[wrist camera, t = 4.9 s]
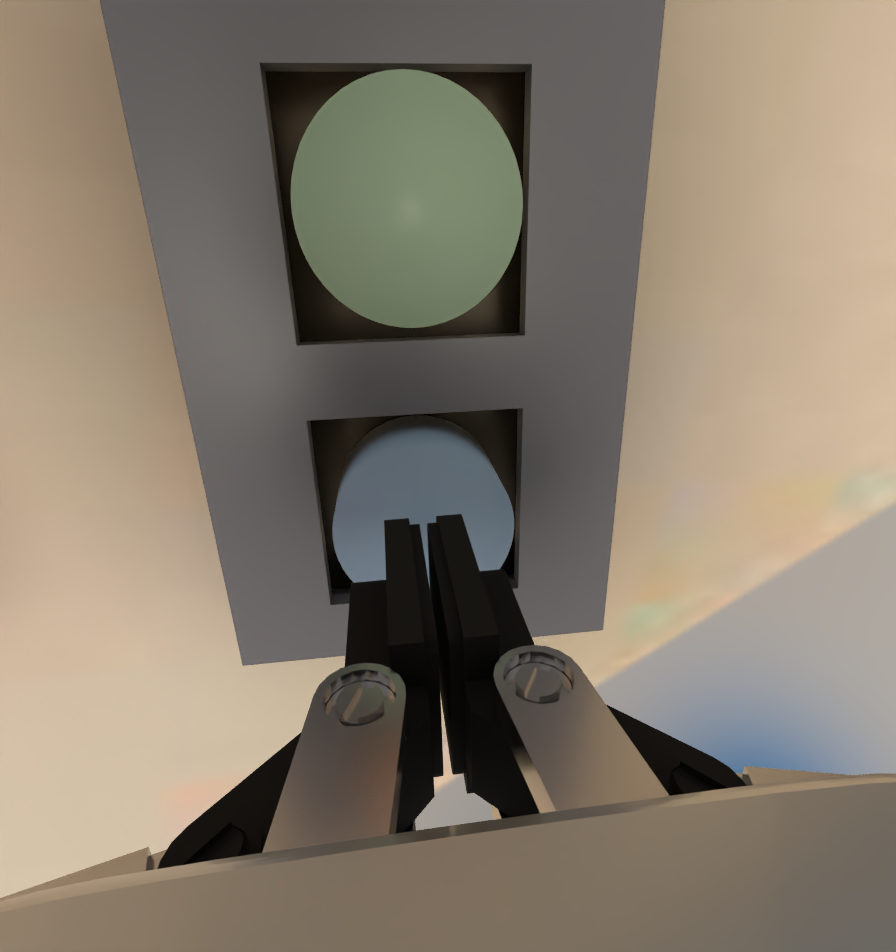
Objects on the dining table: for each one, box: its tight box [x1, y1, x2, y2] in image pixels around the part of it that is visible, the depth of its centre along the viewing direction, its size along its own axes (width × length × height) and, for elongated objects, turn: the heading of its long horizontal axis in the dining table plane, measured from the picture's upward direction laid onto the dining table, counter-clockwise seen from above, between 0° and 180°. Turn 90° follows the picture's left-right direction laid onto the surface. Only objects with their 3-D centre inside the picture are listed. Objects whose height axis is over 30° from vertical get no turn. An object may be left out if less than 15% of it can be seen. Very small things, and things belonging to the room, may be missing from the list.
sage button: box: [291, 69, 523, 328], centre depth 13 cm, size 5×5×3 cm
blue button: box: [332, 415, 514, 587], centre depth 16 cm, size 5×5×3 cm
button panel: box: [100, 0, 665, 666], centre depth 14 cm, size 26×12×3 cm, turn 2°
